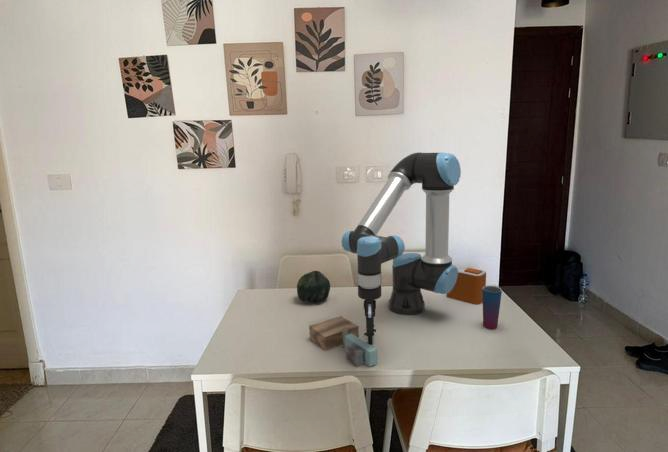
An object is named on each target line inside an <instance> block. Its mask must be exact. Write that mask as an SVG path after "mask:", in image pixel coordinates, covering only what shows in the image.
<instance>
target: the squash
mask: <svg viewBox="0 0 668 452" xmlns="http://www.w3.org/2000/svg"><path fill="white" fill-rule="evenodd" d="M330 282H331V281H330V280H329V279H328V278H327V277H326V276H325V274H324V273H322V272H321V271H319V270H313V271H311V272H307V273H304V274H303V275H302V276H301V277H300V278H299V279H298V282H297V284H296V292H297V297H298V298H299V300H300V301H303V302H307V303H309V302H311V303H314V302H315V303H316V304H317V303H318V304H320V303H322V302H324V301H326V300H327V299H328V297H329V295H330V291H331V283H330Z"/></svg>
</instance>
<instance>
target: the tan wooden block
mask: <svg viewBox="0 0 668 452" xmlns="http://www.w3.org/2000/svg"><path fill="white" fill-rule="evenodd" d="M308 328H309V339H310V340H311V341H313V342H314V343H315V344H317V345H318V347H321V349H323V350H324V351H328V350H331V349H335V348H338V347H340V346H342V348H344V349H345V336H346V335H348V334H351V333H352V334H353V335H355V336H357V337H358V338H360V337H359V336H360V333H359V325H357V324H355V323H354V322H352V321H350V320H348V319H347V318H345V317H344V316H342V315H341V316H337V317H334V318H330V319H327V320H324V321H321V322H317V323H313V324H310V325H309V326H308ZM345 352H346V360H347V362H349V363H351V364H353V365H354V366H355V367H356V368H358V367H359V368H360V366H363V364H364V362H363V350H362V349H360V348H359V347H357V346H356V345H354V344H353V343H351V344H349V345H346V351H345Z"/></svg>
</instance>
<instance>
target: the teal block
mask: <svg viewBox="0 0 668 452" xmlns="http://www.w3.org/2000/svg"><path fill="white" fill-rule="evenodd" d="M351 343H353V344H354V345H356V346H357V347H359V348H360V349H362V350H363V363H365V365H367V366H369V367H370V368H371V367H372V366H373V367H374V366H376V365H378V363H379V362H378V359H379V358H378V348H376V347H375V348H374V347H373V346H371V345H370V344H368V343H366V340H362V339H361V338H360V337H359V338H358V337H357V336H355V335H353V334H352V333H351V334H348V335H346V336H345V348H344V350H346V345H349V344H351Z"/></svg>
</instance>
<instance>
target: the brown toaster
mask: <svg viewBox="0 0 668 452" xmlns="http://www.w3.org/2000/svg"><path fill="white" fill-rule="evenodd" d="M484 286H487V271H485V270H482V269H476V268H472V267H464V268H461V269H458V277H457V281H456V283H455V285H454V287H453V289H452V290H451V291H450V292H449V293H447V294H446V298H450V299H451V300H452V299H453V300H456V301H461V302H464V303H468V304H472V305H481V304H483V294H482V288H483V287H484Z"/></svg>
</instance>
